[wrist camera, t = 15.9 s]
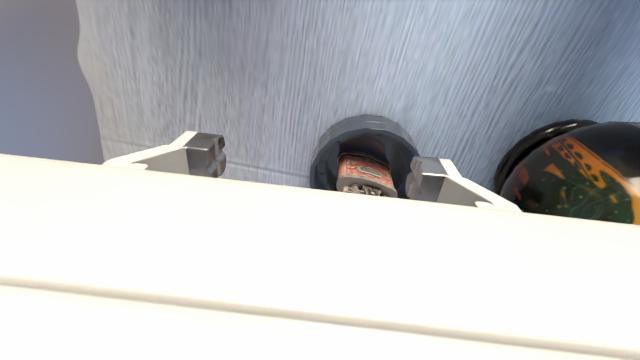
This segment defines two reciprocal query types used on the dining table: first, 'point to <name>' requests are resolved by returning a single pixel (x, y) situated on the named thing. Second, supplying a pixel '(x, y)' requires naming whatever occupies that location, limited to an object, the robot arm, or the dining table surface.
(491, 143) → the dining table surface
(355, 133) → the bowl
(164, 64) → the dining table surface
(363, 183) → the lighter
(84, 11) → the dining table surface
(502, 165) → the amphora vase
